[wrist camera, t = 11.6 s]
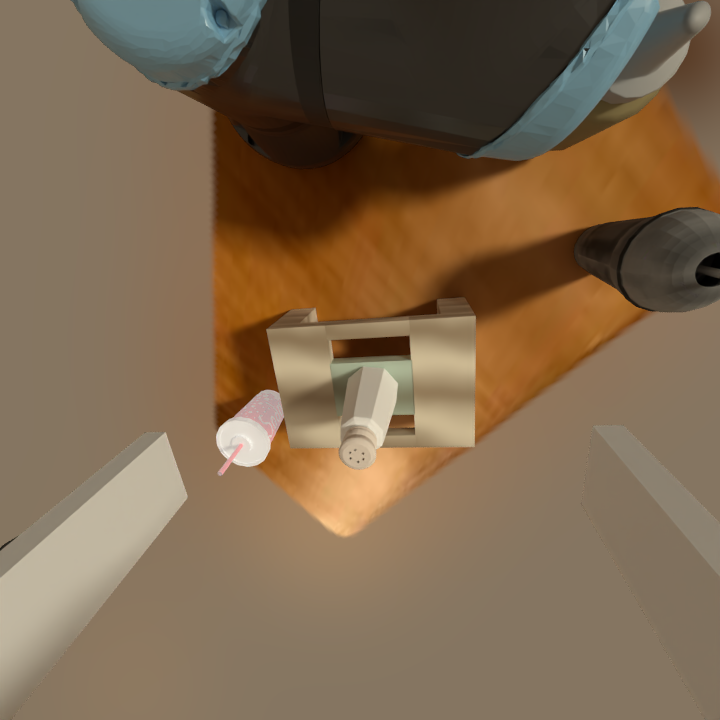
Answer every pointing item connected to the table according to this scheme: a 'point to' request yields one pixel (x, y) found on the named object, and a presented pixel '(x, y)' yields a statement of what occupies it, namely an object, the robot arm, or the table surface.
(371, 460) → the pepper shaker
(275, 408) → the beverage cup
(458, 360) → the cut-out shelf
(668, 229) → the beverage cup
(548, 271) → the table surface
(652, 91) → the squeeze bottle
